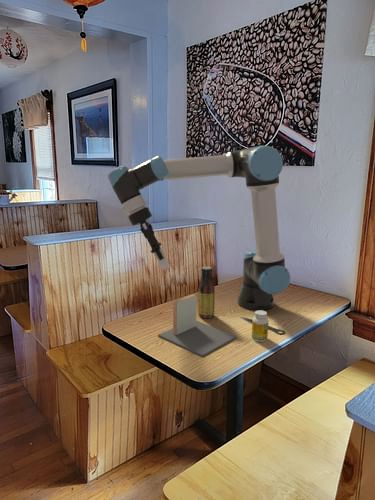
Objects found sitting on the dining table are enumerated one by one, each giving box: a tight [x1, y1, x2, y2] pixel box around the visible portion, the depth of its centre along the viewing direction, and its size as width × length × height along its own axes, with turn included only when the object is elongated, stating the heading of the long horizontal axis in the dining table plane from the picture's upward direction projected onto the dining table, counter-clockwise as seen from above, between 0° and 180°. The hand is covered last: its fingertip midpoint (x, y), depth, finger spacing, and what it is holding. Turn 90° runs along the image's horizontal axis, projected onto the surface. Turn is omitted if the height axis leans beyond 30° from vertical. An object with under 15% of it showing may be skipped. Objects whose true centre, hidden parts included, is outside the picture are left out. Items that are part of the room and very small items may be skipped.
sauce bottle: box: [197, 265, 216, 319], centre depth 141 cm, size 7×6×20 cm
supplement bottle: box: [251, 310, 269, 343], centre depth 124 cm, size 5×5×10 cm
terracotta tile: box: [172, 293, 197, 335], centre depth 128 cm, size 2×10×12 cm, turn 137°
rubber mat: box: [158, 320, 238, 358], centre depth 126 cm, size 20×18×1 cm
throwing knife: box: [240, 316, 286, 336], centre depth 136 cm, size 4×20×1 cm, turn 43°
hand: (165, 265), depth 128 cm, fingers open, 13 cm apart
